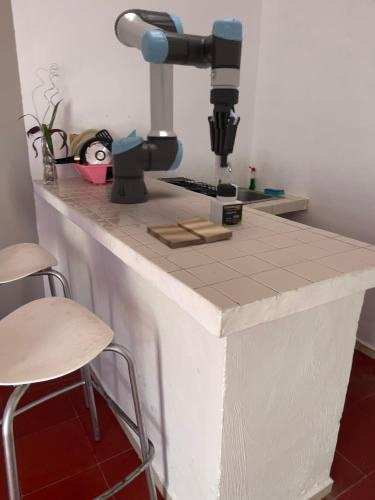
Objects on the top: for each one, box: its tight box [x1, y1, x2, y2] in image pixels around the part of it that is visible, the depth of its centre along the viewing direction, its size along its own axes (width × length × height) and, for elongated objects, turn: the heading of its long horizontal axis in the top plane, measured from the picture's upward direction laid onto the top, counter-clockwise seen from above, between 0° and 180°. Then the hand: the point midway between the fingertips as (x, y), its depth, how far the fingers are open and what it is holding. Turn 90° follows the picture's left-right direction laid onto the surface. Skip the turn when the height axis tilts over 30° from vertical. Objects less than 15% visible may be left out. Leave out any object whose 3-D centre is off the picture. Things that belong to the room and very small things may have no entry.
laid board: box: [146, 223, 206, 250], centre depth 99 cm, size 16×9×2 cm, turn 28°
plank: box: [177, 217, 233, 244], centre depth 103 cm, size 16×8×2 cm, turn 28°
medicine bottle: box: [209, 183, 244, 228], centre depth 111 cm, size 7×7×12 cm
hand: (220, 178), depth 105 cm, fingers closed
